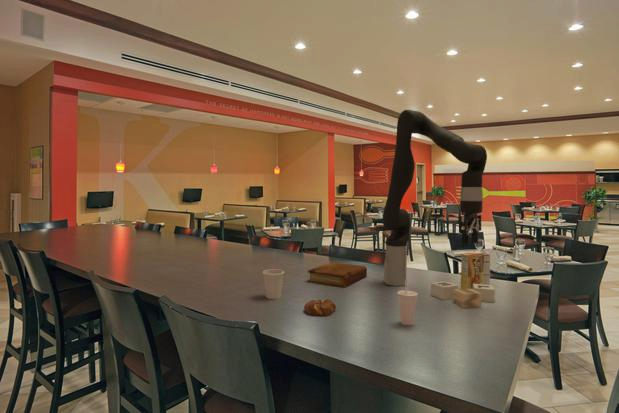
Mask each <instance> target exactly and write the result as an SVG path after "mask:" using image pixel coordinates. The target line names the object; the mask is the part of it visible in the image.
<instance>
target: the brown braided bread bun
mask: <svg viewBox="0 0 619 413" xmlns="http://www.w3.org/2000/svg"><path fill="white" fill-rule="evenodd" d="M303 307H304V308H303V309H304V312H305V313H306V314H308V315H311V316H315V317H319V316H324V317H325V316H326V317H328V316H330V315H332V314H333V313H334V312H335V311H336V309H337V306H336V304H335V303H334V302H333V300H331V299H328V298H327V299H324V300H323V299H315V300H314V299H312V300H310V301H308V302H306V303H305V304H304V306H303Z"/></svg>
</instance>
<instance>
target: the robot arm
mask: <svg viewBox="0 0 619 413" xmlns="http://www.w3.org/2000/svg"><path fill="white" fill-rule="evenodd" d="M413 134H417V135H422V136H423V137H427V138H428V139H429V140H431V141H432V142H433V143H434V144H435V145H436V146H438V147H439V148H440V149H441V150H444V151H445V152H447V153H449V154H451V155H452V156H453V158H455V159H456V160H457V161H459V162H461V163H464V164H468V165H467V169H466V170H464V171H462V173H461V180H460V181H461V185H460V186H461V187H460V198H459V212H460V213H463V214H464V215H462V216H461V215H460V216H459V222H458V233H460V234H461V245H463V246H469V243H470V242H469V241H470V238H469V237H470V232H471V243H473V244H477V243H479V233H480V232H481V231H482V215H481V213H482V212H483V198H484V195H483V194H484V193H483V174H484V172H485V170H486V169H485V168H486V164H487V161H488V153H487V150H486V148H485V147H484V146H483V145H480V144H472V143H469V142H467V141H465V139H464V138H463V137H462V136H460V135H458V134H456V133H454V132H453V131H450V130H448V129H446V128H444V127H443V126H441V125H438V124H437V123H436V122H434V121H433V120H432V119H431V118H429V117H428V116H427V115H426V114H424V113H423V112H421V111H416V110H412V109H404V110H403V111H401V112H400V114H399V115H398V119H397V123H396V141H395V148H394V154H393V155H394V157H393V162H392V168H391V176H390V181H389V182H390V183H389V186H388V192H387V197H386V202H385V205H384V208H383V209H384V210H383V214H382V219H381V220H382V225H383V227H384V228H385V230H388V231H391V233H390V235H389V236H387V237H386V238H385V255H384V256H385V258H384V259H385V260H384V262H383V263H384V264H383V282H384V284H385V285H387V286H396V287H402V286H405V279H407V269H408V268H407V265H408V263H407V259H408V241H409V238H410V230H411V228H410V227H411V218H410V213H409V212H408V211H407V210H406V209H404V208H401V206H402V205H401V204H402V201H403V198H404V196H405V195H406V194H407V191H408V189H410V186H411V185H412V182H413V180H414V173H415V168H416V166H415V164H416V163H415V159H414V154H413V152H412V145H411V144H412V143H411V142H412V141H411V140H412V135H413Z"/></svg>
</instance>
